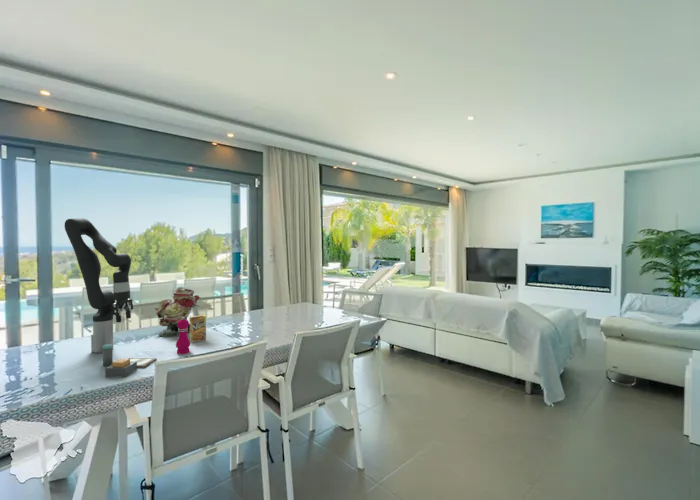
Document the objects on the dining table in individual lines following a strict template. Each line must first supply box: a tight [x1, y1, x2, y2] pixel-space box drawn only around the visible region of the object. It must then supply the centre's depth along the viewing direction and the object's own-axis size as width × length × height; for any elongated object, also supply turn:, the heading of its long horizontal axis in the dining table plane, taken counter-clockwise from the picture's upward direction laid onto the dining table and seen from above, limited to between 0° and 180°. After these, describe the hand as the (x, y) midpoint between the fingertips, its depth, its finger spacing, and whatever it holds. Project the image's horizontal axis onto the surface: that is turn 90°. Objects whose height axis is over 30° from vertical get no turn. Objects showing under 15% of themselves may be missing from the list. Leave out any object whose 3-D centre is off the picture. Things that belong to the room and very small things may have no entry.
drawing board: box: [128, 357, 157, 369], centre depth 176 cm, size 14×11×1 cm
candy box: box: [189, 314, 207, 343], centre depth 216 cm, size 9×4×15 cm, turn 125°
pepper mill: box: [175, 317, 191, 355], centre depth 194 cm, size 7×7×20 cm
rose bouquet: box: [154, 286, 201, 338], centre depth 234 cm, size 26×29×30 cm
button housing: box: [104, 361, 138, 378], centre depth 164 cm, size 9×9×4 cm
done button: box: [112, 358, 130, 367], centre depth 164 cm, size 5×5×4 cm
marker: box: [102, 343, 114, 368], centre depth 173 cm, size 4×4×10 cm
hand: (123, 320), depth 190 cm, fingers open, 8 cm apart
